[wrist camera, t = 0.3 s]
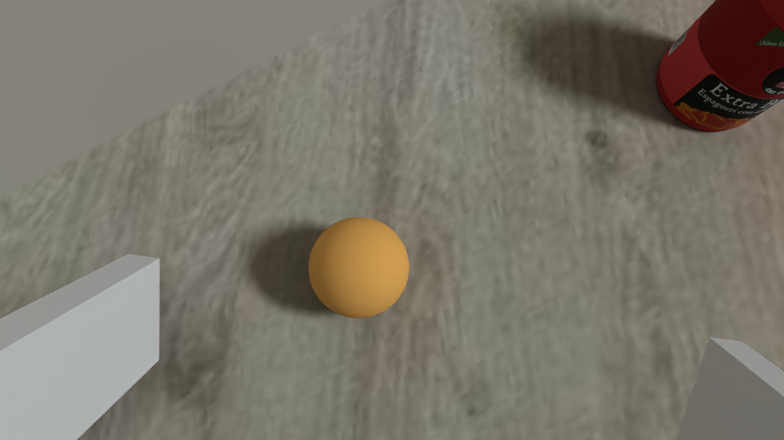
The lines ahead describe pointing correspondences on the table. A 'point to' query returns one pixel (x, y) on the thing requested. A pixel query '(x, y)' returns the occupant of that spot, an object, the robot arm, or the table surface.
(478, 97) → the table surface
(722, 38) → the canned food
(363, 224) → the ball
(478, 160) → the table surface
